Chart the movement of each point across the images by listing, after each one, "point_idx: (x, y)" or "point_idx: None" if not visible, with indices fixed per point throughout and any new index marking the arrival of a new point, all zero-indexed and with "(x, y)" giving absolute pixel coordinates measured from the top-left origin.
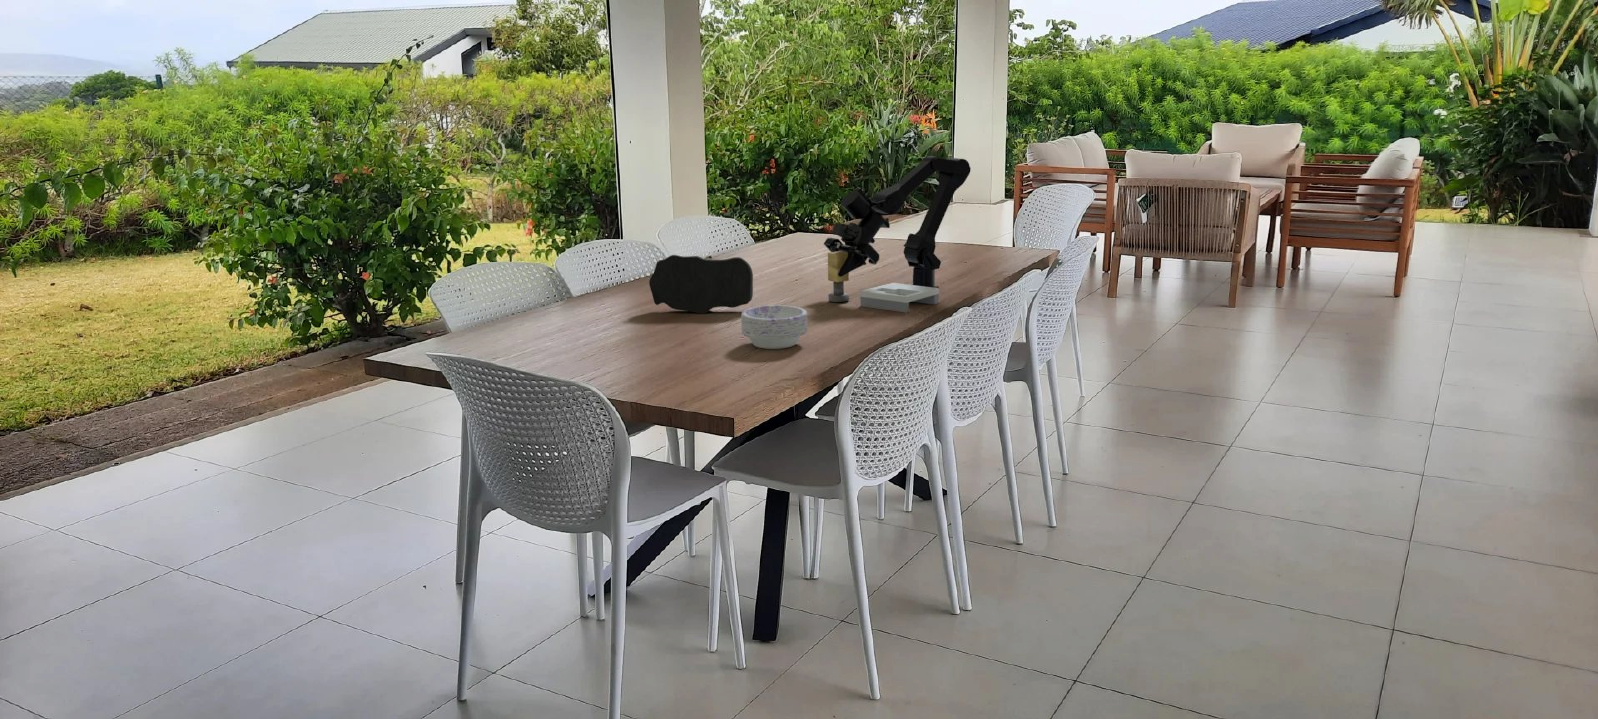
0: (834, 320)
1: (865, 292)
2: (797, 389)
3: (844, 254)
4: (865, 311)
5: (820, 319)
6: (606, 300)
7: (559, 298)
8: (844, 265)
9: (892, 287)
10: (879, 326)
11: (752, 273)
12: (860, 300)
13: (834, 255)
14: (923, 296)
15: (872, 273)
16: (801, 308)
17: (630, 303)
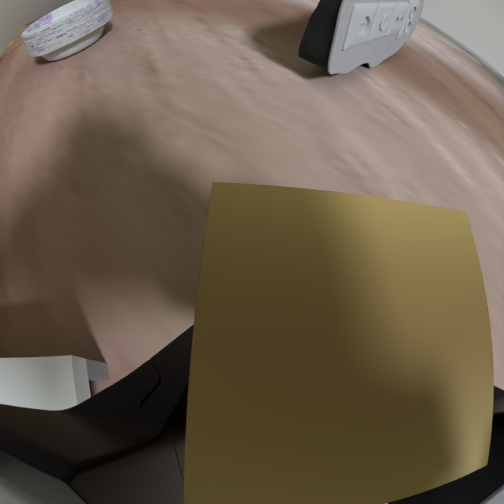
0: (56, 155)
1: (46, 357)
2: (6, 49)
3: (194, 403)
4: (38, 298)
5: (92, 136)
6: (484, 79)
7: (497, 75)
8: (171, 353)
9: None
10: None
11: (339, 7)
12: (93, 360)
13: (281, 205)
14: None
15: None
16: (35, 30)
17: (462, 73)
